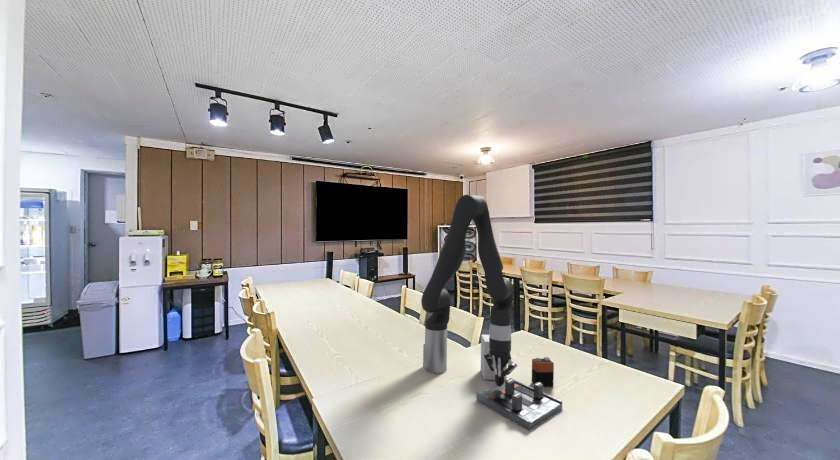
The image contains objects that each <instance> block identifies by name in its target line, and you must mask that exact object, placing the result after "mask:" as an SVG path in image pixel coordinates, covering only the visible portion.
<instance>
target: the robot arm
mask: <svg viewBox="0 0 840 460" xmlns="http://www.w3.org/2000/svg"><path fill="white" fill-rule="evenodd" d="M472 222H473V224H474V225H475V228H476V232H477V252H478V256H479V257H478V258H479V260H480V264H481V267H482V269H483V271H484V281H485V286H486V287H485V288H486V290H487V292H488V295H489V297H490V298H491V299H492V300H493V305H492V306H491V308H490V312H489V313H490V315H489V317H490V319H489V321H490V324H489V327H488V328H489V330H488V331H489V333H488V335H489V348H490V350H489V353H488V354H485V355H484V357H485V359H486V361H487V364H488V366H489V368H490V370H491V371H493V372H494V374H495V380H494V383H495V386H499V387H500V386H502V385H503V384H504V382H505V380H504V377H505V376H509V375H510V374H511V373H513V371H514V370H515V369H516V368H517V366H518V364H517V363H515V362H514V361H513V360H512V356H511V351H512V326H511V323H512V318H511V317H512V314H511V311H512V306H513V299H514V287H513V284H512V282H511V281H510V280H509V279H508V278H507V279H506V278H504V274H503V270H504V264H503V261H502V259H501V256H500V252H499V250H498V248H497V243H496V240H495V237H494V231H493V226H492V222H491V216H490V211H489V206H488V202H487V200H486V199H485V197H483V196H482V195H479V194H464V195H462V196H460V197H459V198H458V199H457V202H456V203H455V207H454V211H453V215H452V219H451V224H450V226H449V229H448V231H447V234H446V238H445V240H444V243H443V245H442V247H441V250H440V253H439V255H438V258H437V262H436V264H435V267H434V269H433V271H432V274H431V277H430V279H429V280H428V282H427V285H426V286H425V288H424V291H423V292H422V295H421V299H420V300H421V307H422V310H423V311H425V312H426V313H432V314H431V315H430V316H429V317H428V318H427V319H426V320H425V323H424V343H423V345H422V346H423V349H422V350H423V351H422V352H423V353H422V355H423V356H422V367H423V368H424V370H425V371H426V372H428V373H430V374H443V373H445V372H446V371H447V368H448V367H447V365H448V364H447V363H448V362H447V361H448V357H447V356H448V324H449V322H450V317H451V316H450V315H451V297H450V294H449V291H448V290H447V289H445V286H446V284H447V283H448V282H449V281H450V280H451V279H452V278H453V277H454V276H455V275H456V273H457V272H458V271H459V270H460V268H461V267H462V264H463V261H464V258H465V256H466V253H467V252H466V251H467V242H466V236H467V232H468V229H469V228H470V225H471V223H472ZM492 365H493V366H492ZM506 367H507V369H506Z"/></svg>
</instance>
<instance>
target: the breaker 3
mask: <svg viewBox="0 0 840 460" xmlns="http://www.w3.org/2000/svg"><path fill="white" fill-rule="evenodd" d="M533 388H534V397H536V398H538V399H539V398H541V397H543V393H544V387H543V384H541V383H540V382H537V383H535V384H533Z"/></svg>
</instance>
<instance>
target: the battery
mask: <svg viewBox="0 0 840 460" xmlns="http://www.w3.org/2000/svg"><path fill="white" fill-rule="evenodd" d="M554 366H555V364H554V361H552V360H551V358H550V357H548V356H545V357H543V358H540V357H536V358H532V359H531V382H532V384H533V385H534V384H535V383H537V382H540V383H541V384H543V388H552V387H554V375H555V374H554V372H555V370H554V369H555V368H554Z"/></svg>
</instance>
